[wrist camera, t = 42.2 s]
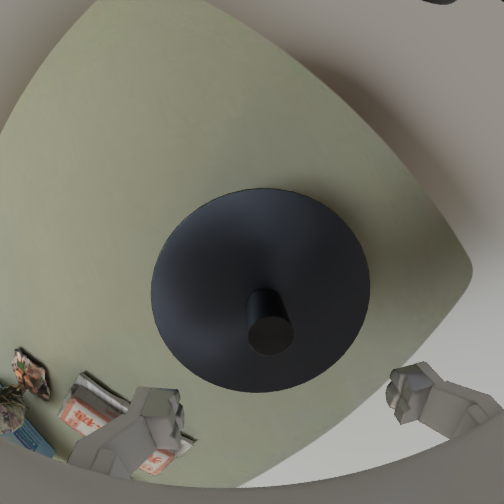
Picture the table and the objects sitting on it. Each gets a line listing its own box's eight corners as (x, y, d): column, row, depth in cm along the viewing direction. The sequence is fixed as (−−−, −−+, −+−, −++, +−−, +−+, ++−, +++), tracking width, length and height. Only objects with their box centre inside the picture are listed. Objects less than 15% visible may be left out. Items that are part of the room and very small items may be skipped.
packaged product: (50, 422, 27) (67, 390, 25) (63, 402, 32) (82, 368, 30) (157, 486, 30) (191, 465, 29) (161, 463, 35) (195, 439, 33)
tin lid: (368, 188, 18) (409, 191, 13) (351, 372, 21) (375, 413, 16) (145, 194, 17) (112, 199, 12) (172, 384, 21) (159, 430, 16)
